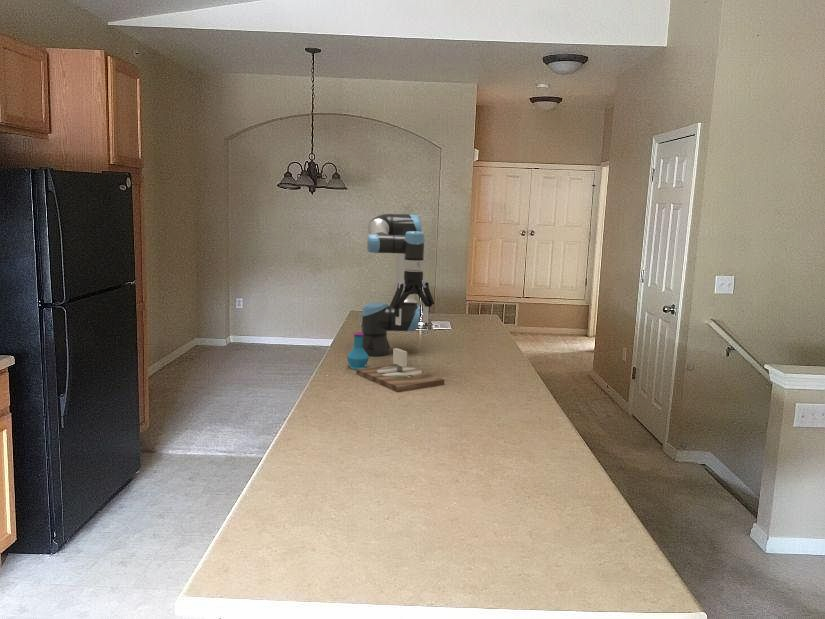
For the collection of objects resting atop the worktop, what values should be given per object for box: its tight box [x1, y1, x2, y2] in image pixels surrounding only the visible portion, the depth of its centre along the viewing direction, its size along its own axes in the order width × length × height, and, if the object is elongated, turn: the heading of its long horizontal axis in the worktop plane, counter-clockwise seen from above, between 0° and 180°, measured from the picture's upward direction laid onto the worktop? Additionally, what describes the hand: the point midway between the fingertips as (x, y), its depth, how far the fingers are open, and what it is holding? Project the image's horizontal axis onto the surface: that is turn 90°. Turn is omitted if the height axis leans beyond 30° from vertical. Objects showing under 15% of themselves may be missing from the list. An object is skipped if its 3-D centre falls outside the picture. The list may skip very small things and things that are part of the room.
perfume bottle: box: [346, 331, 370, 370], centre depth 278 cm, size 9×9×15 cm
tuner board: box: [355, 363, 446, 393], centre depth 262 cm, size 30×22×2 cm
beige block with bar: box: [379, 347, 408, 374], centre depth 263 cm, size 7×11×9 cm, turn 125°
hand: (411, 323), depth 264 cm, fingers open, 13 cm apart
